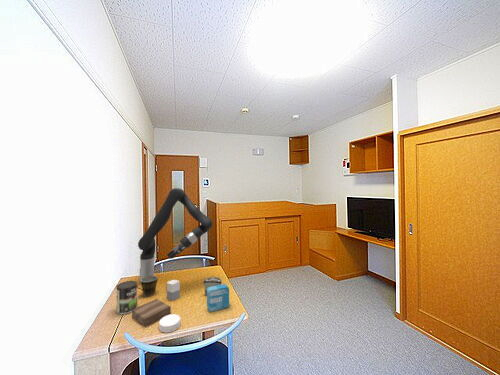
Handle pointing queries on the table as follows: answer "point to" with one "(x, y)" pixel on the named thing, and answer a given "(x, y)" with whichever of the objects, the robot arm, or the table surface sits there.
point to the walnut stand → (151, 312)
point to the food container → (211, 283)
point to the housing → (173, 290)
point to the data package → (217, 297)
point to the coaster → (169, 323)
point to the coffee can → (126, 297)
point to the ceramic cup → (148, 285)
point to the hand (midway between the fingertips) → (168, 257)
